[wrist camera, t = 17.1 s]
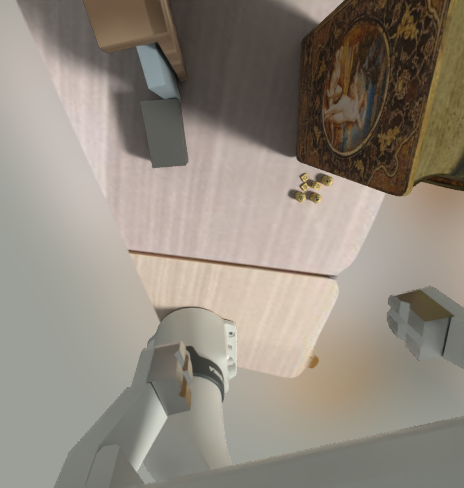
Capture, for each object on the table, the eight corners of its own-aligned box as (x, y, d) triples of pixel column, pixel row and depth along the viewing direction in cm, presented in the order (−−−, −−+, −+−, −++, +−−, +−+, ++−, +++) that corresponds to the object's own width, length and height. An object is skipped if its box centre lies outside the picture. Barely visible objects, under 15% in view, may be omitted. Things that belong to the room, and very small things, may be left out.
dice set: (329, 176, 43) (335, 178, 41) (317, 204, 45) (322, 207, 43) (302, 168, 42) (306, 169, 40) (291, 197, 44) (294, 200, 42)
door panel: (181, 99, 36) (165, 84, 23) (169, 102, 36) (148, 88, 23) (152, -13, 31) (113, -112, 18) (139, -10, 31) (90, -107, 18)
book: (301, 31, 34) (487, -164, 11) (341, 29, 34) (602, -164, 12) (295, 160, 41) (404, 201, 18) (329, 158, 41) (477, 195, 18)
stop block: (188, 160, 40) (185, 165, 35) (159, 163, 39) (152, 168, 35) (180, 102, 36) (176, 98, 32) (148, 104, 36) (139, 101, 32)
